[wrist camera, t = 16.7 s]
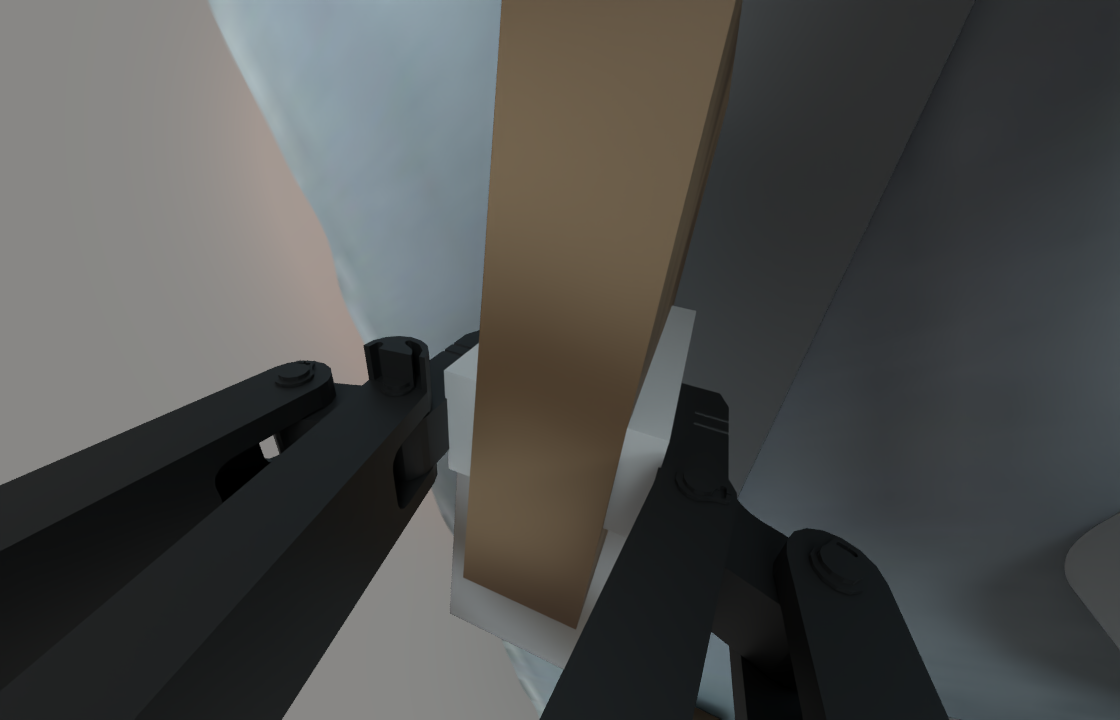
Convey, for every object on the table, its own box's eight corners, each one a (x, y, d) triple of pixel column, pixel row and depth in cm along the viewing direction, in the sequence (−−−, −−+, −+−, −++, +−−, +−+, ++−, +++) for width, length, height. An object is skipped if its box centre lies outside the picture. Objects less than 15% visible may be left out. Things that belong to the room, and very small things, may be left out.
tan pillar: (550, 86, 13) (351, -60, 6) (824, 112, 11) (1033, -65, 4) (498, 537, 21) (389, 706, 14) (650, 601, 19) (612, 837, 12)
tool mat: (515, -142, 12) (507, -152, 12) (1052, -178, 9) (1068, -194, 8) (494, 515, 27) (491, 521, 27) (688, 594, 24) (687, 602, 23)
